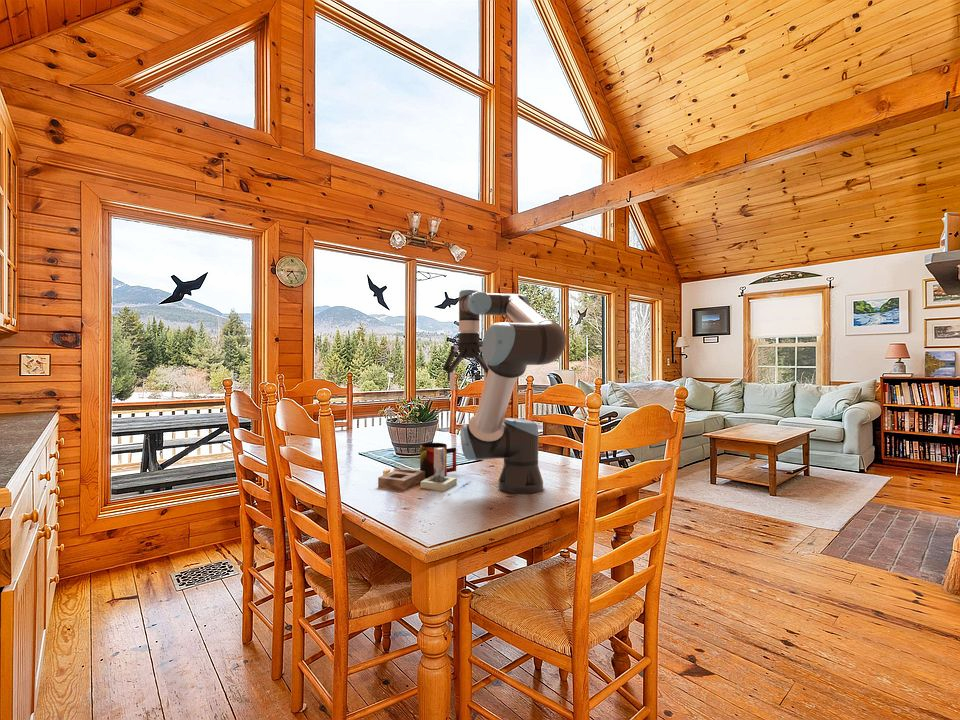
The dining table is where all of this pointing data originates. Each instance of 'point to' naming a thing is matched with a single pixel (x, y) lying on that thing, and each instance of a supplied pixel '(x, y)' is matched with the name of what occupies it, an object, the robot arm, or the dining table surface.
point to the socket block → (401, 479)
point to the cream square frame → (438, 483)
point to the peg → (439, 464)
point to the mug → (428, 458)
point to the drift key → (386, 471)
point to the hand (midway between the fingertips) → (468, 390)
